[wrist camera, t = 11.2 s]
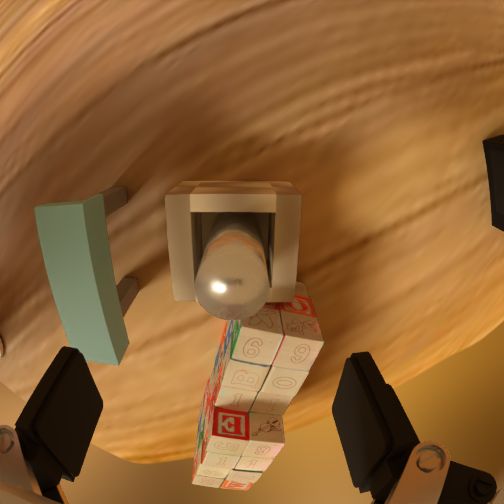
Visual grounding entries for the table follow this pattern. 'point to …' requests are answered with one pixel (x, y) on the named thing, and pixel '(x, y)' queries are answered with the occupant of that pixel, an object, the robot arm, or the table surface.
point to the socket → (233, 200)
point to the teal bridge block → (86, 274)
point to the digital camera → (496, 178)
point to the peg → (233, 268)
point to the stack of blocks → (254, 391)
